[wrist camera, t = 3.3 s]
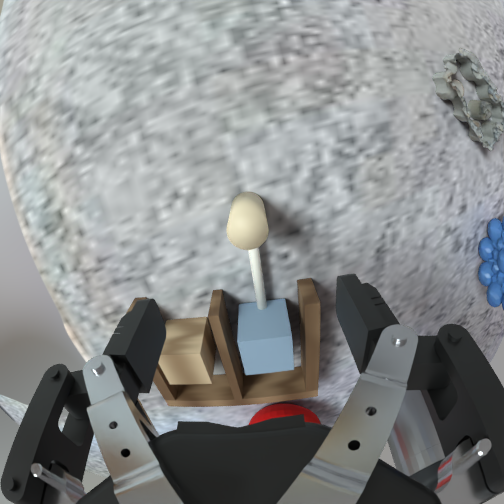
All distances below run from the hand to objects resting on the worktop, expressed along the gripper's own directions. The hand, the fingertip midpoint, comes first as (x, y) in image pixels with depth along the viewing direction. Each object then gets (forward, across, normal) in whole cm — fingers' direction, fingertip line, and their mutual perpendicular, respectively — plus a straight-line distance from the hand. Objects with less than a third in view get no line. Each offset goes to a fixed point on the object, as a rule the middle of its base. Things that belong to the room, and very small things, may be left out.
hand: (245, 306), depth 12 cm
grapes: (+15, -32, +8) cm, 36 cm away
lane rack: (+15, +4, +16) cm, 22 cm away
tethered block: (+15, 0, +7) cm, 17 cm away
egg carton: (+16, -26, -11) cm, 33 cm away
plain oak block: (+15, +9, +15) cm, 23 cm away
